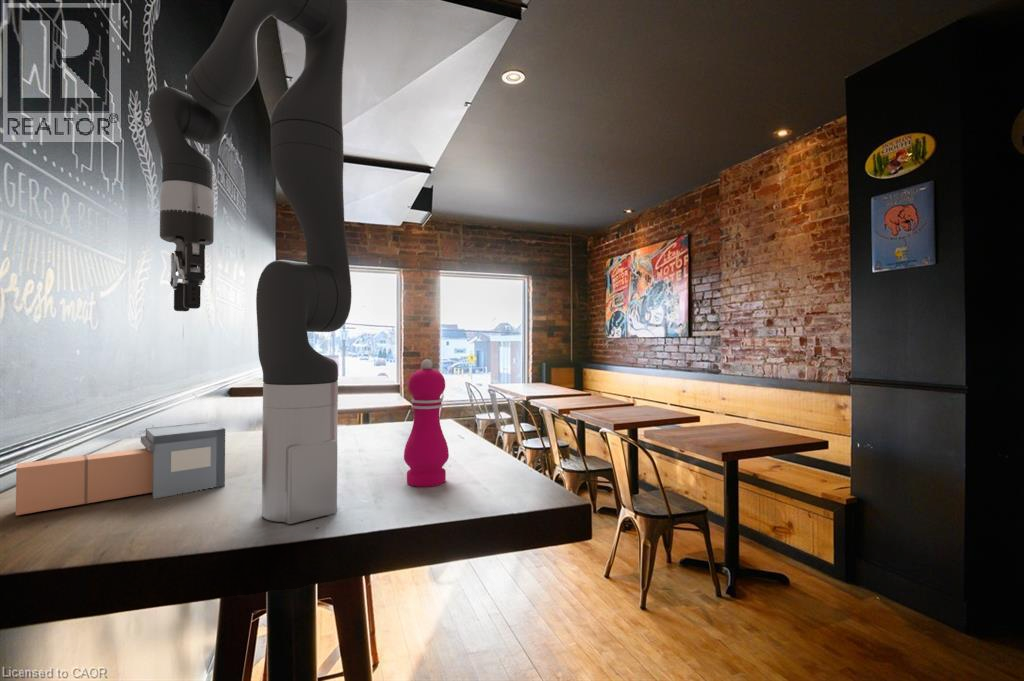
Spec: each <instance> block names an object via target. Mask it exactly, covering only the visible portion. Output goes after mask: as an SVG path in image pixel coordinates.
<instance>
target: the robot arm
mask: <svg viewBox="0 0 1024 681" xmlns="http://www.w3.org/2000/svg"><path fill="white" fill-rule="evenodd" d="M348 7H349V6H348V0H233V2H232V4H231V6H230V8H229V10H228V12H227V15H226V16H225V19H224V22H223V23H222V26H221V28H220V30H219V31H218V33H217V35H216V37H215V39H214V40H213V41H212V43H211V44H210V46H209V47H208V49H207V50H206V51H205V52H204V54H203V55H202V57H200V58H199V60H198V61H197V63H196V64H195V65H194V66H193V67H192V69H191V70H190V71H189V73H188V75H187V76H186V78H185V83H186V84H185V85H186V89H187V91H188V93H186V92H184V91H181V90H179V89H176V88H174V87H170V86H160V87H159V88H157V89H156V90H154V91H153V93H152V94H151V96H150V99H149V105H148V109H149V116H150V121H151V124H152V127H153V131H154V134H155V137H156V139H157V143H158V148H159V151H160V155H161V161H162V162H161V163H162V168H161V169H162V170H161V171H162V172H161V173H162V174H161V175H162V176H161V178H162V179H161V180H162V183H161V190H160V197H159V237H160V239H161V240H163V241H165V242H168V243H173V244H175V250H174V251H173V252H171V253H170V281H169V285H170V287H172V289H173V310H174V311H176V312H189V311H190V309H194V310H195V309H196V310H197V309H199V308H200V307H201V289H202V288H201V286H202V285H203V283H204V280H205V279H206V262H205V261H206V260H205V258H206V256H205V253H206V252H205V250H206V246H210V245H213V244H214V237H215V236H214V234H215V233H214V230H215V229H214V226H215V225H214V224H215V223H214V220H215V216H214V215H215V204H214V202H215V201H214V197H213V164H212V160H211V159H210V157H208V156H207V155H205V153H203V152H200V151H199V150H198V149H196V148H195V147H193V146H191V144H189V143H188V141H187V140H189V141H192V142H196V143H198V144H202V145H209V146H210V145H213V144H216V143H218V142H219V141H220V140H221V139H223V137H224V135H225V134H224V133H225V131H226V127H227V124H228V121H229V119H230V116H231V115H232V114H231V113H232V112H233V109H234V108H235V107H236V106H237V105H238V103H239V102H240V101H241V100H242V99H243V97H245V96H246V94H248V92H250V90H251V89H252V87H253V86H254V84H255V82H256V80H257V78H258V77H257V76H258V71H259V70H258V69H259V62H258V61H259V60H258V58H259V57H258V44H257V42H258V41H257V40H258V33H259V30H260V27H261V26H262V25H263V23H264V22H265V21H266V20H267V19H268V18H270V17H273V18H274V19H275V20H278V21H279V22H281V23H282V24H285V25H286V26H287V27H289V28H290V29H292V30H294V31H296V32H297V33H299V34H300V35H301V36H302V37H303V40H304V47H305V55H304V56H305V57H304V65H303V69H302V71H301V73H300V75H299V76H298V77H297V79H296V80H295V81H294V82H293V83H292V85H290V87H288V89H287V90H286V91H285V92H284V94H283V95H282V96H281V97H280V99H278V101H277V103H276V104H275V106H274V108H273V111H272V112H271V118H270V161H271V167H272V170H273V173H274V176H275V178H276V180H277V183H278V185H279V187H280V189H281V191H282V193H283V195H284V196H285V198H286V201H287V202H288V204H289V205H290V208H291V209H292V211H293V213H294V215H295V217H296V219H297V220H298V222H299V226H300V228H301V231H302V234H303V237H304V243H305V250H306V252H305V253H306V262H300V261H294V260H289V259H287V260H286V259H278V260H277V259H276V260H274V261H270V263H268V264H267V265H266V266H265V267H264V268H263V270H262V272H261V274H260V276H259V277H258V278H259V279H258V283H257V286H256V295H255V298H256V299H255V303H256V305H255V306H256V310H255V311H256V327H257V349H258V350H257V351H258V353H257V354H258V359H259V363H260V366H261V370H262V382H263V383H262V438H261V440H262V444H261V445H262V447H261V448H262V450H261V451H262V452H261V454H262V457H261V460H262V461H261V462H262V464H261V516H262V518H263V519H265V520H268V521H271V522H279V523H281V522H282V523H286V524H287V525H293V524H297V523H301V522H304V521H307V520H309V521H310V520H312V519H316V518H320V517H324V516H329V515H332V514H337V512H338V417H339V416H338V406H339V405H338V404H339V403H338V401H339V399H338V397H339V396H338V395H339V394H338V393H339V391H338V390H339V382H338V380H339V367H338V363H337V362H336V360H334V359H332V358H330V357H327V356H325V355H323V354H321V353H319V352H318V351H316V350H315V349H314V348H313V346H312V345H311V344H310V341H309V337H308V332H310V333H331V332H336V331H337V330H339V329H341V328H342V327H343V326H344V325H345V324H346V321H347V320H348V318H349V316H350V315H349V314H350V312H351V311H350V310H351V305H352V280H351V270H350V262H349V254H348V246H347V235H346V228H345V223H346V222H345V206H344V205H345V204H344V130H343V78H344V77H343V75H344V74H343V73H344V72H343V71H344V60H345V49H346V38H347V29H348V28H347V26H348V15H349V14H348V12H349V11H348ZM186 139H187V140H186Z"/></svg>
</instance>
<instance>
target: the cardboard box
mask: <svg viewBox="0 0 1024 681" xmlns="http://www.w3.org/2000/svg"><path fill="white" fill-rule="evenodd" d="M15 469H16V470H15V471H16V472H15V474H16V475H15V516H21V515H26V514H32V513H38V512H43V511H49V510H55V509H61V508H68V507H73V506H79V505H87V504H90V503H97V502H103V501H110V500H115V499H121V498H126V497H132V496H137V495H143V494H144V495H145V494H149V493H151V494H152V493H153V451H151V452H149V451H148V450H147V449H146V447H144V448H138V449H129V450H121V451H120V450H119V451H112V452H104V453H95V454H83V455H79V456H78V455H77V456H69V457H61V458H53V459H45V460H37V461H36V460H35V461H27V462H19V463H17V465H16V468H15Z"/></svg>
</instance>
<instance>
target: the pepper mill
mask: <svg viewBox="0 0 1024 681" xmlns="http://www.w3.org/2000/svg"><path fill="white" fill-rule="evenodd" d="M432 367H433V362H432V360H431V359H427V358H425V359H424V360H422V362H421V368H420V369H418V370H416V371H414V372H413V373H412V374H411V375H410V377H409V379H408V384H407V386H408V387H407V388H408V391H409V394H410V395H411V396H412V397H413V398H411V400H410V401H411V406H410V407H411V408H412V409H413V422H412V423H413V424H412V428H411V431H410V434H409V437H408V438H407V441H406V443H405V447H404V452H403V461H404V462H405V464H406V465H407V466H408V467H409V469H408V470H407V471H406V483H407V484H408V485H410V486H411V487H417V488H428V487H429V488H431V487H437V486H439V485H443V484H444V483H445V482H446V481H447V478H446V472H447V471H446V469H445V468H444V465H445V464H446V463H447V462H448V460H449V456H450V454H449V447H448V442H447V440H446V438H445V435H444V433H443V430H442V429H443V428H442V427H441V420H440V412H441V411H440V409H441V408H442V407H443V404H442V402H443V398H442V397H441V396H442V395H443V393H444V391H445V390H446V380H445V377H444V376H443V374H442V373H441V372H440V371H438V370H436V369H434V368H432Z"/></svg>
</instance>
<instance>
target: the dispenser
mask: <svg viewBox="0 0 1024 681" xmlns="http://www.w3.org/2000/svg"><path fill="white" fill-rule="evenodd" d="M140 443H141V444H142V445H143V446H144V448H146V449H147V450H148V451H149V452H151V451H153V492H152V498H153V499H161V498H165V497H171V496H177V494H178V495H183V494H189V493H193V491H195V492H199V491H198V490H200V491H203V490H202V489H206V490H208V489H207V488H212V487H217V488H220V487H219V486H223V487H225V486H226V482H225V481H226V428H224V427H222V426H221V425H218V424H216V423H214V422H212V421H210V422H209V421H208V422H197V423H196V422H195V423H186V424H180V425H179V424H177V425H168V426H167V425H165V426H158V427H157V426H156V427H146V428H145V435H140ZM212 489H213V488H212ZM188 492H189V493H188ZM182 493H183V494H182Z"/></svg>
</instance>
